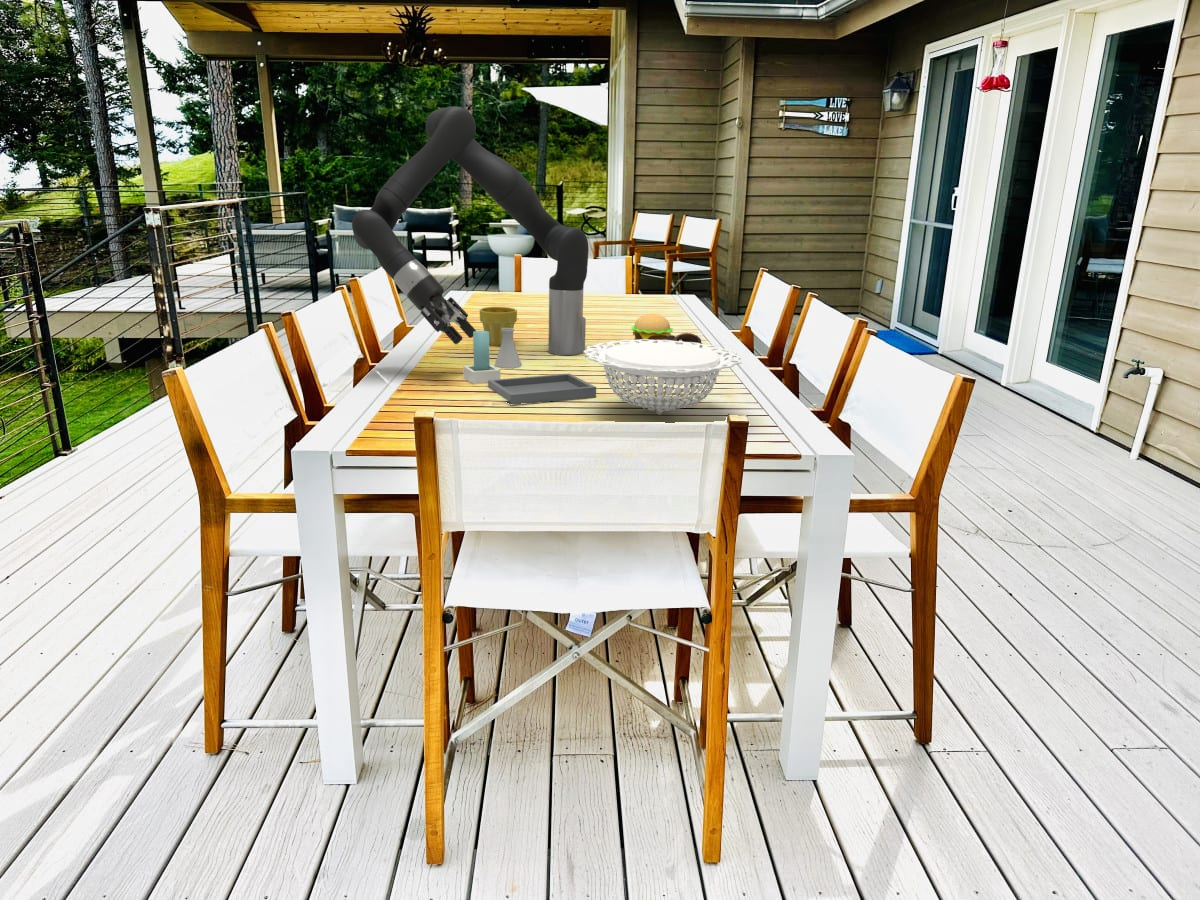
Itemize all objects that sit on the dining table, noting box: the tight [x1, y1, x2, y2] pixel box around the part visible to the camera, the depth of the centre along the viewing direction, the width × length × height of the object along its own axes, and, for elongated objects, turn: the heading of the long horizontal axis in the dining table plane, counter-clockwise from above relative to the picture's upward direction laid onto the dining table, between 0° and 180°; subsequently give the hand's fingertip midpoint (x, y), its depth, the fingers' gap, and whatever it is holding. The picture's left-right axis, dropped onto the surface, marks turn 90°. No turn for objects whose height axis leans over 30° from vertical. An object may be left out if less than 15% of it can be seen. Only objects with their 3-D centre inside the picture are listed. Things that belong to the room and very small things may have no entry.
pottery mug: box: [665, 332, 703, 348], centre depth 227 cm, size 12×10×8 cm
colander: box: [583, 339, 743, 415], centre depth 173 cm, size 32×32×13 cm
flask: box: [493, 328, 523, 370], centre depth 210 cm, size 7×7×10 cm
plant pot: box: [479, 306, 518, 346], centre depth 240 cm, size 10×10×10 cm
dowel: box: [472, 330, 491, 371], centre depth 195 cm, size 4×4×11 cm
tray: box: [487, 373, 597, 405], centre depth 188 cm, size 20×14×2 cm
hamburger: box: [631, 313, 674, 343], centre depth 247 cm, size 12×12×9 cm
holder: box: [462, 364, 501, 385], centre depth 196 cm, size 7×7×4 cm
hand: (466, 338), depth 194 cm, fingers open, 8 cm apart
